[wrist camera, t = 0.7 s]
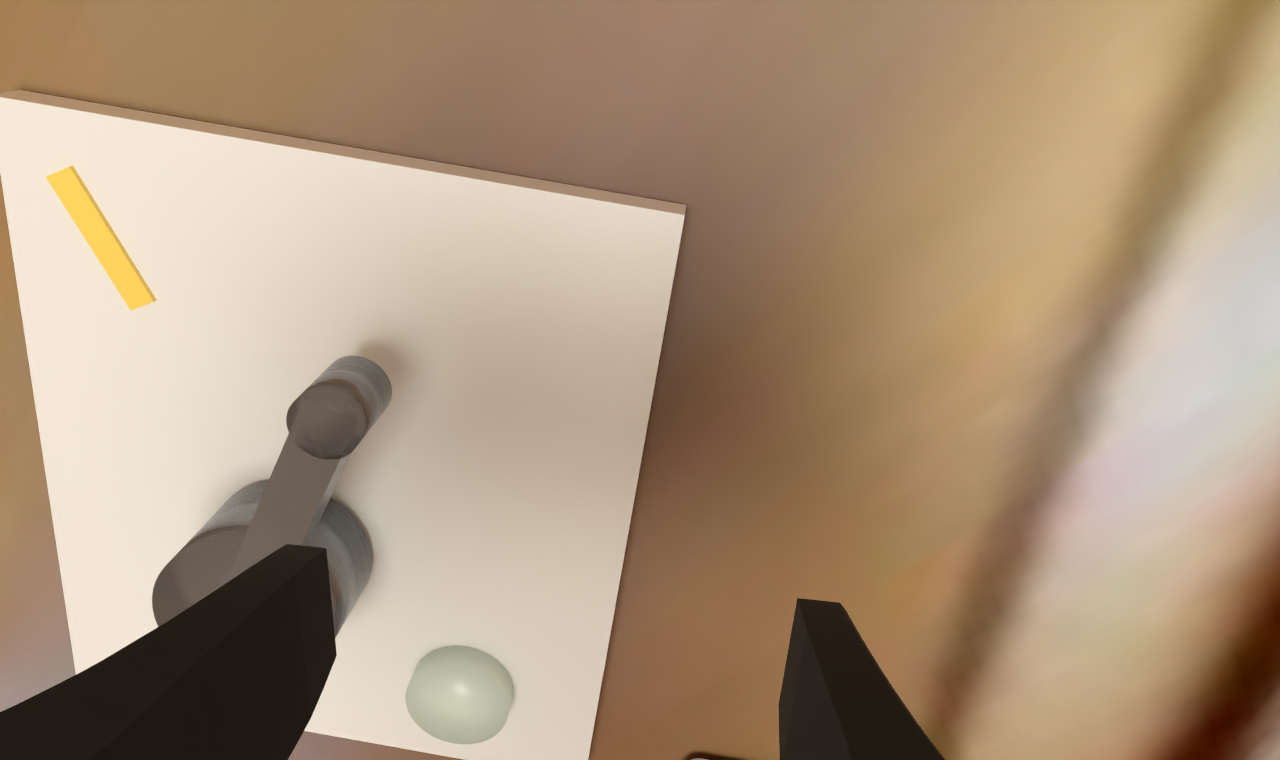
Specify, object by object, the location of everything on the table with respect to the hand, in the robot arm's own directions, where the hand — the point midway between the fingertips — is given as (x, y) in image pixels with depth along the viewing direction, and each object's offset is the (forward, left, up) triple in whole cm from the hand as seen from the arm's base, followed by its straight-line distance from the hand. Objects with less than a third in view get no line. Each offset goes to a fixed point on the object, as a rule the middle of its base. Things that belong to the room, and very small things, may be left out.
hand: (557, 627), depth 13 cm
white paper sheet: (-5, +7, -10) cm, 14 cm away
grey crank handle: (-5, +7, -9) cm, 13 cm away
